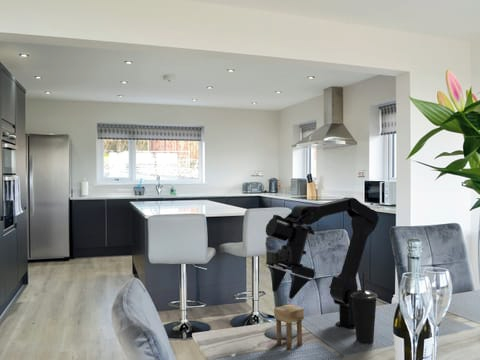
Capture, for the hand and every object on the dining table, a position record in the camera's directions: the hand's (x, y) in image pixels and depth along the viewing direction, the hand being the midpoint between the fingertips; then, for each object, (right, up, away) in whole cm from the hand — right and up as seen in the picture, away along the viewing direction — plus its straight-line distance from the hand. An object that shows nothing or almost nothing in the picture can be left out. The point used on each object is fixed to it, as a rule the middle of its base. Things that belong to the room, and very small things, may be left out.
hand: (282, 294), depth 127 cm
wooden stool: (+2, -13, -5) cm, 14 cm away
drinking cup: (+24, -13, -3) cm, 28 cm away
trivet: (0, -13, +4) cm, 14 cm away
